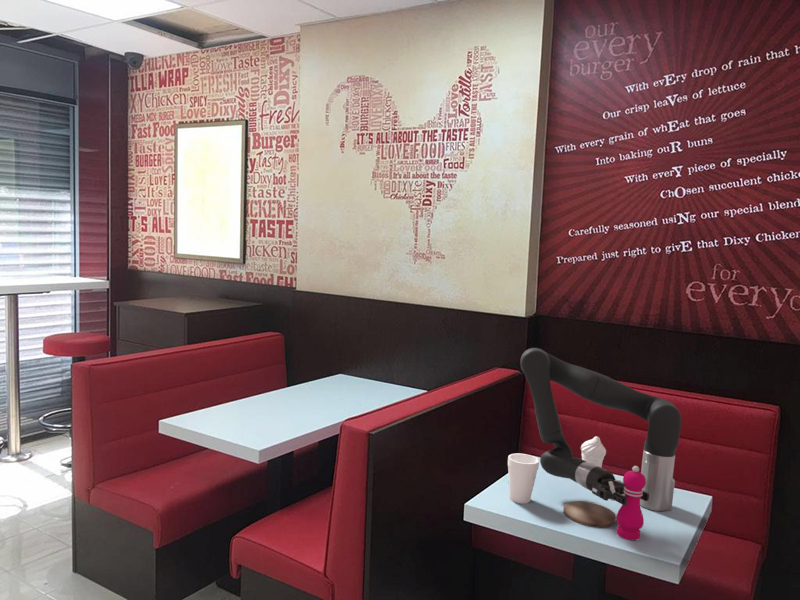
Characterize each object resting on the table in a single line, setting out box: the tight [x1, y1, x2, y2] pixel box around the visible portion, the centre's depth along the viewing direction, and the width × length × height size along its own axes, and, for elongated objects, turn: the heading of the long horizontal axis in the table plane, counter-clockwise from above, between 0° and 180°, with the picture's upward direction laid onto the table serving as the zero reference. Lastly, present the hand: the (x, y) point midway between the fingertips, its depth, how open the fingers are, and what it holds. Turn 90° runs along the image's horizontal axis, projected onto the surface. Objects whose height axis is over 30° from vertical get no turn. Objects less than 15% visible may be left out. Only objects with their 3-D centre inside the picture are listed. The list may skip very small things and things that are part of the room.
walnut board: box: [562, 500, 617, 528], centre depth 200 cm, size 15×15×1 cm
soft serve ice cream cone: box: [580, 436, 607, 468], centre depth 227 cm, size 8×8×16 cm
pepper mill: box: [616, 465, 646, 541], centre depth 187 cm, size 7×7×20 cm
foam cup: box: [507, 452, 540, 504], centre depth 207 cm, size 10×9×13 cm
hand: (637, 499), depth 186 cm, fingers open, 8 cm apart
